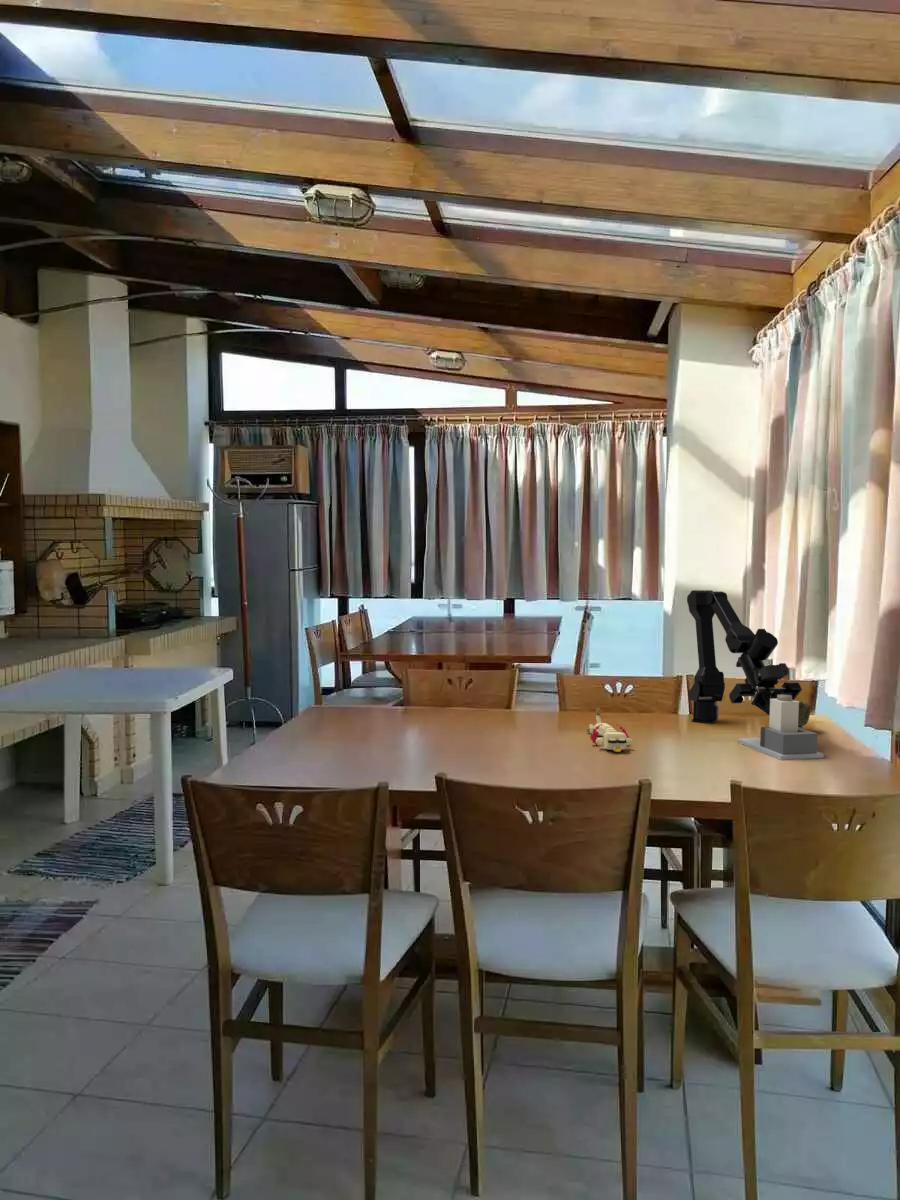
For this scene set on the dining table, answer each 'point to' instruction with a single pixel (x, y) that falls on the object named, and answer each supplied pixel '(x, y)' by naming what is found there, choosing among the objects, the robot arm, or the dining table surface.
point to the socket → (785, 744)
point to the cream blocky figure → (608, 735)
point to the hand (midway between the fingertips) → (777, 719)
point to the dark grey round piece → (803, 714)
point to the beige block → (784, 714)
